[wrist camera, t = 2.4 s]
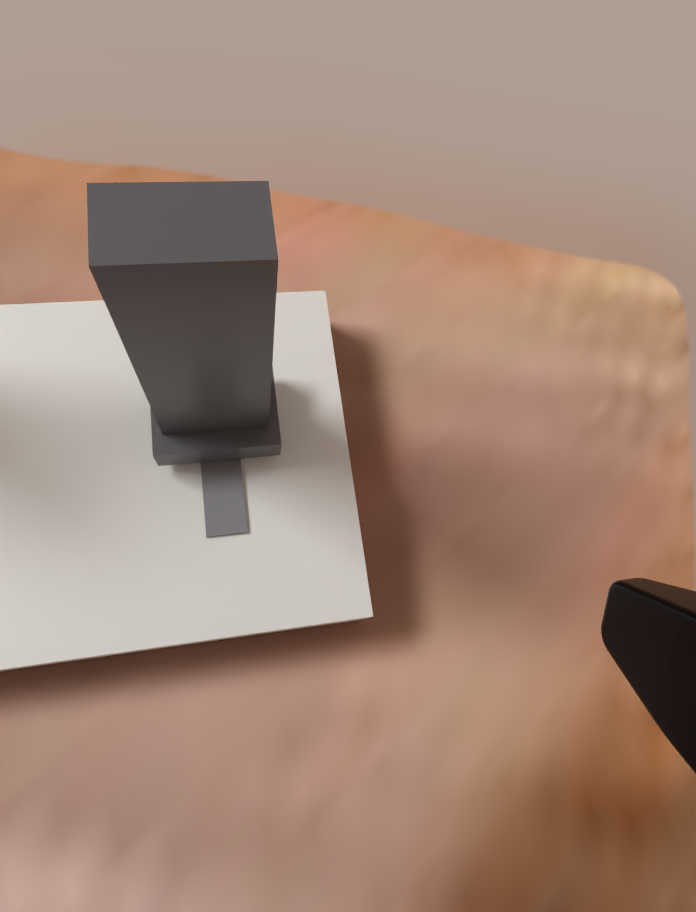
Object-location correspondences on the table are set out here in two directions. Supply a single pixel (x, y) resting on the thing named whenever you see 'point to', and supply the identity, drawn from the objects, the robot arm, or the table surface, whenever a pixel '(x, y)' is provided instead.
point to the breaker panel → (164, 499)
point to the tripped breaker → (193, 309)
